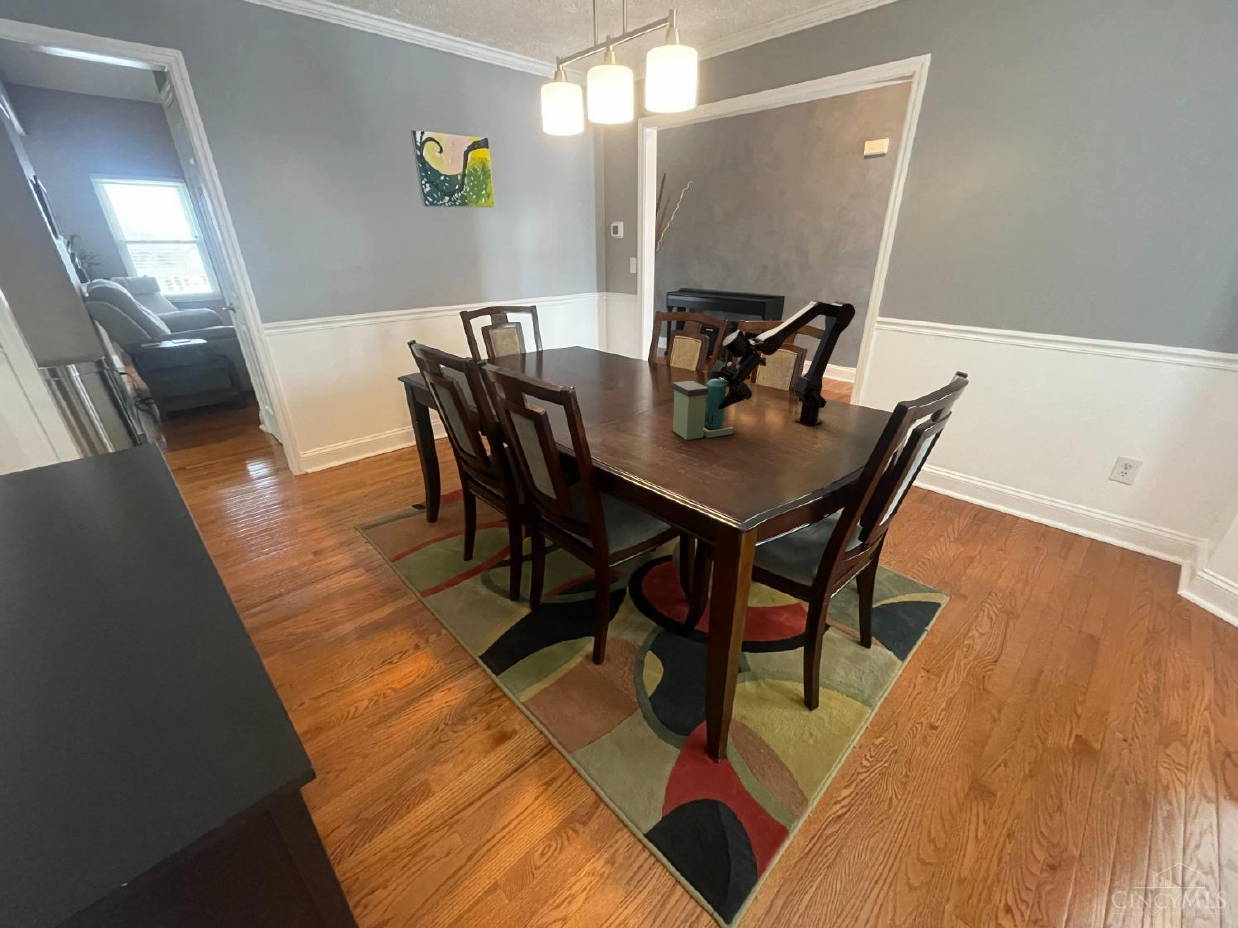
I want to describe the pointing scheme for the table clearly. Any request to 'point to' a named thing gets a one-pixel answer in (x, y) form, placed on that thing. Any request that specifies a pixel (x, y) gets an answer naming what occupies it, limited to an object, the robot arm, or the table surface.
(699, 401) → the drink station
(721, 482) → the table surface
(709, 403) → the beverage bottle
